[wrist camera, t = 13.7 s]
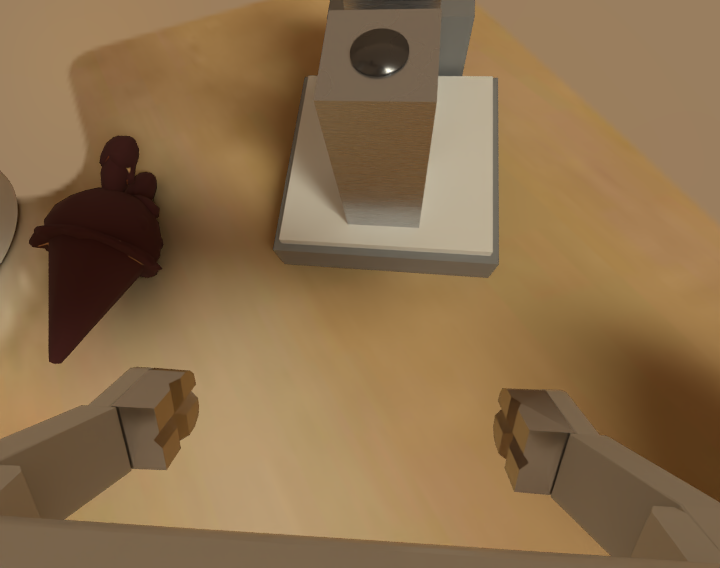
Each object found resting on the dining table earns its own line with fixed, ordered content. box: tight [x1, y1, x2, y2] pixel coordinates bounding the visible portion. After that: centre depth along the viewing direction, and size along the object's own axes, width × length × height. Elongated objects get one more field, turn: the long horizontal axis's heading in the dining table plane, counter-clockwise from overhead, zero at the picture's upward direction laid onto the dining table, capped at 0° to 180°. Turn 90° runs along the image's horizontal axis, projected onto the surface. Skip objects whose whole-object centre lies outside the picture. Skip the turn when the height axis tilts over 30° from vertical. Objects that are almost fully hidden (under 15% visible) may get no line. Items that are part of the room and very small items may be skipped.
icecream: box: [29, 136, 164, 364], centre depth 24 cm, size 7×7×15 cm
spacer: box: [313, 8, 442, 228], centre depth 18 cm, size 4×4×10 cm
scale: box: [273, 0, 499, 278], centre depth 24 cm, size 14×17×7 cm
